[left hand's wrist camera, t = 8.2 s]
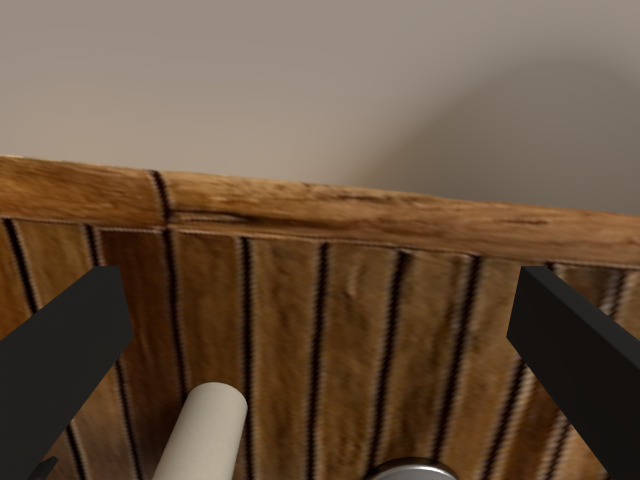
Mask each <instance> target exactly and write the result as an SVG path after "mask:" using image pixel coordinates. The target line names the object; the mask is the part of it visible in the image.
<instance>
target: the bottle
mask: <svg viewBox="0 0 640 480" xmlns="http://www.w3.org/2000/svg"><path fill="white" fill-rule="evenodd" d="M246 414H247V403H246V400H245V398H244V397H243V395H242V394H241V393H240V392H239V391H238V390H236V389H235V388H233V387H231V386H229V385H227V384H223V383H217V382H210V383H204V384H201V385H199V386H197V387H195V388H194V389H193V390H191V392H190V393H189V394H188V396H187V398H186V400H185V403H184V405H183V407H182V410H181V412H180V414H179V417H178V419H177V421H176V424H175V426H174V428H173V431H172V433H171V435H170V438H169V440H168V442H167V444H166V447H165V449H164V451H163V454H162V456H161V458H160V461H159V463H158V465H157V468H156V470H155V472H154V475H153V477H152V479H151V480H232V476H233V472H234V467H235V463H236V458H237V454H238V450H239V445H240V441H241V436H242V432H243V428H244V423H245V419H246Z"/></svg>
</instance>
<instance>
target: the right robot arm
mask: <svg viewBox="0 0 640 480" xmlns="http://www.w3.org/2000/svg"><path fill="white" fill-rule="evenodd" d="M57 461H58V459H57V458H56V457H55V456H53V457H51V458H49V459H47V460H45V461H43V462H41V463H39V464H38V465H37V467H36V468H35V469H34V471H33V472H32V473H31V475H30V476H29V477H28V479H27V480H45V478H46V477H47V475H48V474H49V473H50V471H51V470H52V468H53V467H54V465H55V464H56V463H57Z"/></svg>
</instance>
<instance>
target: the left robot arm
mask: <svg viewBox="0 0 640 480" xmlns="http://www.w3.org/2000/svg"><path fill="white" fill-rule="evenodd" d="M133 337H134V336H133V331H132V326H131V322H130V317H129V312H128V308H127V303H126V298H125V294H124V289H123V284H122V279H121V275H120V270H119V266H95V267H94V268H92V269H91V270H90V271H89V272H87V273H86V274H85V275H83V276H82V277H81V278H80V279H78V280H77V281H76V282H75V283H73V284H72V285H71V286H70V287H68V288H67V289H66V290H64V291H63V292H62V293H61V294H59V295H58V296H57V297H56V298H54V299H53V300H52V301H51V302H49V303H48V304H47V305H45V306H44V307H43V308H42V309H40V310H39V311H38V312H37V313H35V314H34V315H33V316H32V317H30V318H29V319H28V320H26V321H25V322H24V323H23V324H21V325H20V326H19V327H18V328H16V329H15V330H14V331H13V332H11V333H10V334H9V335H7V336H6V337H5V338H4V339H2V340H1V341H0V480H27V479H28V477H29V476H30V475H31V473H32V472H33V471H34V469H35V468H36V467H37V465H38V464H39V463H40V461H41V460H42V459H43V457H44V456H45V455H46V453H47V452H48V451H49V449H50V448H51V447H52V445H53V444H54V443H55V441H56V440H57V439H58V437H59V436H60V435H61V433H62V432H63V431H64V429H65V428H66V427H67V425H68V424H69V423H70V421H71V420H72V419H73V417H74V416H75V415H76V413H77V412H78V411H79V409H80V408H81V407H82V405H83V404H84V403H85V401H86V400H87V399H88V397H89V396H90V395H91V393H92V392H93V391H94V389H95V388H96V387H97V385H98V384H99V383H100V381H101V380H102V379H103V377H104V376H105V375H106V373H107V372H108V371H109V369H110V368H111V367H112V365H113V364H114V363H115V361H116V360H117V359H118V357H119V356H120V355H121V353H122V352H123V351H124V349H125V348H126V347H127V345H128V344H129V343H130V341H131V340H132V339H133ZM506 337H507V339H508V340H509V341H510V343H511V344H512V345H513V347H514V348H515V349H516V351H517V352H518V353H519V355H520V356H521V357H522V359H523V360H524V361H525V363H526V364H527V365H528V367H529V368H530V369H531V371H532V372H533V373H534V375H535V376H536V377H537V379H538V380H539V381H540V383H541V384H542V385H543V387H544V388H545V389H546V391H547V392H548V393H549V395H550V396H551V397H552V399H553V400H554V401H555V403H556V404H557V405H558V407H559V408H560V409H561V411H562V412H563V413H564V415H565V416H566V417H567V419H568V420H569V421H570V423H571V424H572V425H573V427H574V428H575V429H576V431H577V432H578V433H579V435H580V436H581V437H582V439H583V440H584V441H585V443H586V444H587V445H588V447H589V448H590V449H591V451H592V452H593V453H594V455H595V456H596V457H597V459H598V460H599V461H600V463H601V464H602V465H603V467H604V468H605V469H606V471H607V472H608V473H609V475H610V476H611V477H612V479H613V480H640V341H639V340H638V339H636V338H635V337H634V336H633V335H631V334H630V333H629V332H627V331H626V330H625V329H624V328H622V327H621V326H620V325H619V324H617V323H616V322H615V321H614V320H612V319H611V318H610V317H608V316H607V315H606V314H605V313H603V312H602V311H601V310H600V309H598V308H597V307H596V306H595V305H593V304H592V303H591V302H589V301H588V300H587V299H586V298H584V297H583V296H582V295H581V294H579V293H578V292H577V291H576V290H574V289H573V288H572V287H570V286H569V285H568V284H567V283H565V282H564V281H563V280H562V279H560V278H559V277H558V276H557V275H555V274H554V273H553V272H551V271H550V270H549V269H548V268H546V267H545V266H521V270H520V275H519V279H518V284H517V289H516V294H515V298H514V303H513V308H512V312H511V317H510V322H509V326H508V331H507V336H506ZM364 480H460V479H459V477H458V476H457V474H456V473H455V472H454V471H453V470H452V469H451V468H449V467H448V466H446V465H445V464H443V463H440V462H438V461H435V460H431V459H426V458H403V459H398V460H394V461H391V462H388V463H386V464H383V465H381V466H380V467H378V468H376V469H375V470H374V471H372V472H371V473H370V474H369V475H368V476H367V477H366V478H365V479H364Z"/></svg>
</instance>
